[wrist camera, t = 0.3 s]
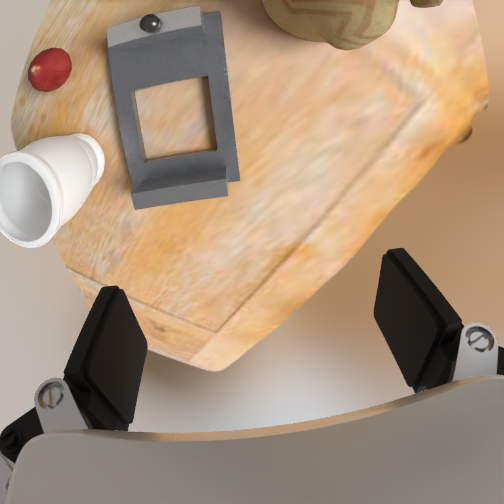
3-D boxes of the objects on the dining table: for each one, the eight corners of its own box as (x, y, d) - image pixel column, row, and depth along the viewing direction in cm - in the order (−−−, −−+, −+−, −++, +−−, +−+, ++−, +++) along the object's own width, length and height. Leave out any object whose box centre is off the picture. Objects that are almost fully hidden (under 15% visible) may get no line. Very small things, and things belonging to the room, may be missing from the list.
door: (121, 34, 26) (102, 26, 21) (203, 15, 26) (198, 2, 21) (123, 51, 27) (104, 46, 22) (205, 33, 28) (200, 22, 22)
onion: (47, 93, 30) (14, 99, 23) (47, 55, 27) (13, 55, 20) (82, 84, 30) (51, 87, 23) (81, 45, 27) (51, 40, 20)
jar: (97, 112, 32) (33, 133, 19) (123, 181, 38) (76, 232, 25) (40, 145, 33) (-27, 179, 20) (66, 205, 38) (13, 259, 26)
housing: (110, 38, 27) (90, 31, 22) (220, 14, 27) (219, -1, 22) (137, 192, 39) (123, 211, 33) (239, 177, 39) (241, 194, 33)
